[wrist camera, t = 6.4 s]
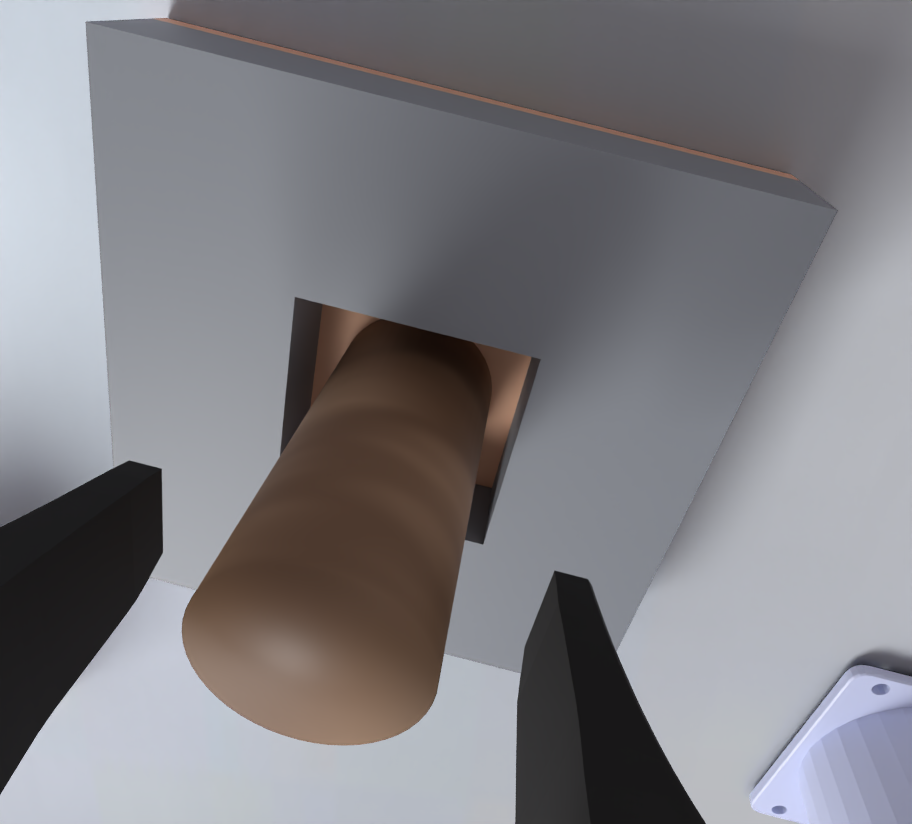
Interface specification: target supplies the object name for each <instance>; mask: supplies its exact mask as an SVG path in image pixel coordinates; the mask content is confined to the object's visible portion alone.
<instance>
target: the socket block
mask: <svg viewBox="0 0 912 824" xmlns="http://www.w3.org/2000/svg"><path fill="white" fill-rule="evenodd" d="M86 36H87V52H88V68H89V84H90V100H91V116H92V132H93V148H94V164H95V180H96V196H97V212H98V228H99V244H100V260H101V276H102V292H103V308H104V324H105V340H106V356H107V372H108V388H109V404H110V420H111V436H112V452H113V468H115V467H117V466H119V465H121V464H123V463H125V462H127V461H129V460H130V461H134V462H138V463H142V464H146V465H149V466H153V467H157V468H161V469H162V509H163V554H162V556H161V557H160V559H159V561H158V563H157V565H156V566H155V568H154V570H153V572H152V574H151V575H150V577H149V578H152V579H156V580H159V581H163V582H167V583H171V584H175V585H179V586H183V587H187V588H191V589H194V590H197V588H198V587H199V585H200V584H201V582H202V580H203V579H204V577H205V576H206V574H207V572H208V571H209V569H210V568H211V566H212V564H213V563H214V561H215V560H216V558H217V556H218V555H219V553H220V552H221V550H222V548H223V547H224V545H225V544H226V542H227V540H228V539H229V537H230V536H231V534H232V532H233V531H234V529H235V528H236V526H237V524H238V523H239V521H240V520H241V518H242V516H243V515H244V513H245V512H246V510H247V508H248V507H249V505H250V504H251V502H252V500H253V499H254V497H255V496H256V494H257V492H258V491H259V489H260V488H261V486H262V484H263V483H264V481H265V480H266V478H267V476H268V475H269V473H270V472H271V470H272V468H273V467H274V465H275V464H276V462H277V460H278V459H279V457H280V456H281V454H282V452H283V451H284V449H285V448H286V446H287V444H288V443H289V441H290V440H291V438H292V436H293V435H294V433H295V432H296V430H297V428H298V427H299V425H300V424H301V422H302V420H303V419H304V417H305V416H306V414H307V412H308V411H309V409H310V408H311V406H312V404H313V403H314V401H315V400H316V398H317V396H318V395H319V393H320V392H321V390H322V388H323V387H324V385H325V384H326V382H327V380H328V379H329V377H330V376H331V374H332V372H333V371H334V369H335V368H336V366H337V364H338V363H339V361H340V360H341V358H342V356H343V355H344V353H345V352H346V350H347V348H348V347H349V345H350V344H351V342H352V341H353V340H354V338H355V337H356V336H357V335H358V334H359V333H360V332H361V331H362V330H363V329H364V328H366V327H367V326H369V325H370V324H372V323H374V322H376V321H378V320H380V319H384V320H388V321H392V322H396V323H400V324H404V325H408V326H412V327H416V328H420V329H424V330H428V331H432V332H435V333H439V334H443V335H447V336H451V337H455V338H459V339H463V340H467V341H471V342H474V343H475V345H476V346H477V347H478V349H479V350H480V351H481V353H482V355H483V357H484V358H485V360H486V363H487V365H488V367H489V371H490V375H491V382H492V395H491V401H490V406H489V412H488V417H487V423H486V428H485V433H484V439H483V444H482V450H481V455H480V461H479V466H478V471H477V477H476V482H475V488H474V493H473V499H472V504H471V510H470V515H469V520H468V526H467V531H466V537H465V542H464V548H463V553H462V558H461V564H460V569H459V575H458V580H457V586H456V591H455V596H454V602H453V607H452V613H451V618H450V624H449V629H448V634H447V640H446V645H445V651H444V654H447V655H451V656H455V657H459V658H463V659H467V660H471V661H475V662H479V663H482V664H486V665H490V666H494V667H498V668H502V669H506V670H510V671H514V672H518V673H521V669H522V662H523V654H524V647H525V644H526V642H527V639H528V637H529V634H530V632H531V629H532V626H533V624H534V621H535V619H536V616H537V614H538V611H539V609H540V606H541V604H542V601H543V598H544V596H545V593H546V591H547V588H548V586H549V583H550V581H551V578H552V576H553V573H554V571H559V572H563V573H567V574H570V575H574V576H578V577H582V578H586V579H588V580H589V581H590V583H591V585H592V587H593V590H594V593H595V596H596V599H597V602H598V605H599V608H600V611H601V613H602V616H603V619H604V622H605V624H606V627H607V630H608V632H609V635H610V637H611V640H612V642H613V645H614V648H615V650H616V651H617V649H618V647H619V645H620V643H621V641H622V639H623V637H624V635H625V633H626V631H627V629H628V627H629V625H630V623H631V621H632V619H633V617H634V615H635V613H636V611H637V609H638V607H639V605H640V603H641V601H642V599H643V597H644V595H645V593H646V591H647V589H648V587H649V585H650V583H651V581H652V579H653V577H654V575H655V573H656V571H657V569H658V567H659V565H660V563H661V561H662V560H663V558H664V556H665V554H666V552H667V550H668V548H669V546H670V544H671V542H672V540H673V538H674V536H675V534H676V532H677V530H678V528H679V526H680V524H681V522H682V520H683V518H684V516H685V514H686V512H687V510H688V508H689V506H690V504H691V502H692V500H693V498H694V496H695V494H696V492H697V490H698V488H699V486H700V484H701V482H702V480H703V478H704V476H705V474H706V472H707V470H708V468H709V466H710V464H711V462H712V460H713V458H714V456H715V454H716V452H717V450H718V448H719V446H720V444H721V442H722V440H723V438H724V436H725V434H726V432H727V430H728V428H729V426H730V424H731V422H732V420H733V418H734V416H735V414H736V412H737V410H738V408H739V406H740V404H741V402H742V400H743V398H744V396H745V394H746V392H747V390H748V388H749V386H750V384H751V382H752V380H753V378H754V376H755V374H756V372H757V370H758V368H759V366H760V364H761V362H762V360H763V358H764V356H765V354H766V352H767V350H768V348H769V346H770V344H771V342H772V340H773V338H774V336H775V334H776V332H777V330H778V328H779V326H780V324H781V323H782V321H783V319H784V317H785V315H786V313H787V311H788V309H789V307H790V305H791V303H792V301H793V299H794V297H795V295H796V293H797V291H798V289H799V287H800V285H801V283H802V281H803V279H804V277H805V275H806V273H807V271H808V269H809V267H810V265H811V263H812V261H813V259H814V257H815V255H816V253H817V251H818V249H819V247H820V245H821V243H822V241H823V239H824V237H825V235H826V233H827V231H828V229H829V227H830V225H831V223H832V221H833V219H834V217H835V215H836V213H837V211H838V210H837V209H835V208H834V207H833V206H831V205H830V204H829V203H828V202H826V201H825V200H824V199H822V198H821V197H820V196H819V195H817V194H816V193H815V192H813V191H812V190H811V189H810V188H808V187H807V186H806V185H804V184H803V183H802V182H800V181H799V180H798V179H797V178H795V177H794V176H793V175H791V174H787V173H783V172H779V171H775V170H771V169H767V168H763V167H759V166H755V165H751V164H747V163H743V162H739V161H735V160H731V159H727V158H723V157H719V156H715V155H711V154H707V153H703V152H699V151H695V150H691V149H687V148H683V147H679V146H675V145H671V144H667V143H663V142H659V141H655V140H651V139H647V138H643V137H639V136H635V135H631V134H627V133H623V132H619V131H615V130H611V129H607V128H603V127H599V126H595V125H591V124H587V123H583V122H579V121H575V120H571V119H567V118H563V117H559V116H555V115H551V114H547V113H543V112H540V111H536V110H532V109H528V108H524V107H520V106H516V105H512V104H508V103H504V102H500V101H496V100H492V99H488V98H484V97H480V96H476V95H472V94H468V93H464V92H460V91H456V90H452V89H448V88H444V87H440V86H436V85H432V84H428V83H424V82H420V81H416V80H412V79H408V78H404V77H400V76H396V75H392V74H388V73H384V72H380V71H376V70H372V69H368V68H364V67H360V66H356V65H352V64H348V63H344V62H340V61H336V60H332V59H328V58H324V57H320V56H316V55H312V54H308V53H304V52H300V51H296V50H292V49H288V48H284V47H280V46H276V45H272V44H268V43H264V42H260V41H256V40H252V39H248V38H244V37H240V36H236V35H232V34H228V33H224V32H220V31H216V30H212V29H208V28H204V27H200V26H196V25H192V24H188V23H184V22H180V21H176V20H172V19H168V18H156V19H134V20H113V21H91V22H86Z"/></svg>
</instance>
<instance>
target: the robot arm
mask: <svg viewBox="0 0 912 824" xmlns="http://www.w3.org/2000/svg"><path fill="white" fill-rule="evenodd" d="M162 554H163V509H162V469H161V468H157V467H153V466H149V465H146V464H142V463H138V462H134V461H130V460H129V461H127V462H125V463H123V464H121V465H119V466H117V467H115V468H113V469H111V470H109V471H107V472H105V473H104V474H102V475H100V476H98V477H96V478H94V479H92V480H91V481H89V482H87V483H85V484H83V485H81V486H79V487H78V488H76V489H74V490H72V491H70V492H68V493H66V494H65V495H63V496H61V497H59V498H57V499H55V500H53V501H51V502H49V503H47V504H45V505H43V506H42V507H40V508H38V509H36V510H34V511H32V512H30V513H28V514H26V515H24V516H22V517H20V518H18V519H16V520H14V521H12V522H10V523H8V524H6V525H4V526H2V527H0V794H1V792H2V791H3V789H4V787H5V786H6V784H7V783H8V781H9V779H10V778H11V776H12V774H13V773H14V771H15V770H16V768H17V766H18V765H19V763H20V761H21V760H22V758H23V757H24V755H25V753H26V752H27V750H28V748H29V747H30V745H31V744H32V742H33V740H34V739H35V737H36V735H37V734H38V732H39V731H40V730H41V728H42V727H43V725H44V724H45V722H46V721H47V719H48V718H49V717H50V715H51V714H52V712H53V711H54V709H55V708H56V707H57V705H58V704H59V703H60V701H61V700H62V699H63V697H64V696H65V695H66V693H67V692H68V691H69V689H70V688H71V687H72V686H73V684H74V683H75V682H76V680H77V679H78V678H79V676H80V675H81V674H82V672H83V671H84V670H85V668H86V667H87V666H88V664H89V663H90V662H91V660H92V659H93V658H94V656H95V655H96V654H97V652H98V651H99V650H100V648H101V647H102V646H103V645H104V643H105V642H106V641H107V639H108V638H109V637H110V635H111V634H112V632H113V631H114V630H115V628H116V627H117V626H118V624H119V623H120V622H121V620H122V619H123V618H124V616H125V615H126V614H127V612H128V611H129V610H130V608H131V607H132V605H133V604H134V603H135V601H136V600H137V598H138V596H139V594H140V593H141V591H142V589H143V588H144V586H145V584H146V583H147V581H148V579H149V577H150V575H151V574H152V572H153V570H154V568H155V566H156V565H157V563H158V561H159V559H160V557H161V556H162ZM749 799H750V803H751V807H752V808H753V809H754V810H755V811H757V812H759V813H762V814H766V815H770V816H774V817H778V818H782V819H786V820H790V821H793V822H797V823H801V824H912V677H911V676H907V675H903V674H899V673H895V672H891V671H887V670H884V669H880V668H876V667H872V666H867V665H857V666H854V667H851V668H850V669H848V670H847V671H846V672H845V673H844V675H843V676H842V677H841V678H840V680H839V681H838V682H837V684H836V685H835V686H834V687H833V689H832V690H831V691H830V692H829V694H828V695H827V696H826V698H825V699H824V700H823V701H822V703H821V704H820V705H819V707H818V708H817V709H816V710H815V712H814V713H813V714H812V715H811V717H810V718H809V719H808V721H807V722H806V723H805V724H804V726H803V727H802V728H801V729H800V731H799V732H798V733H797V735H796V736H795V737H794V738H793V740H792V741H791V742H790V744H789V745H788V746H787V747H786V749H785V750H784V751H783V752H782V754H781V755H780V756H779V758H778V759H777V760H776V761H775V763H774V764H773V765H772V766H771V768H770V769H769V770H768V772H767V773H766V774H765V775H764V777H763V778H762V779H761V780H760V782H759V783H758V784H757V786H756V787H755V788H754V789H753V791H752V792H751V793H750V795H749ZM515 824H706V823H705V821H704V820H703V818H702V817H701V815H700V814H699V812H698V810H697V809H696V807H695V806H694V804H693V802H692V801H691V799H690V798H689V796H688V794H687V793H686V791H685V789H684V787H683V786H682V784H681V782H680V781H679V779H678V777H677V776H676V774H675V772H674V770H673V769H672V767H671V765H670V763H669V761H668V760H667V758H666V756H665V754H664V752H663V750H662V748H661V747H660V745H659V743H658V741H657V739H656V737H655V735H654V733H653V731H652V729H651V727H650V725H649V723H648V721H647V719H646V717H645V715H644V713H643V711H642V709H641V707H640V705H639V703H638V700H637V698H636V696H635V694H634V692H633V689H632V687H631V685H630V683H629V680H628V678H627V676H626V674H625V671H624V669H623V667H622V664H621V662H620V660H619V657H618V655H617V652H616V650H615V648H614V645H613V642H612V640H611V637H610V635H609V632H608V630H607V627H606V624H605V622H604V619H603V616H602V613H601V611H600V608H599V605H598V602H597V599H596V596H595V593H594V590H593V587H592V585H591V583H590V581H589V580H588V579H586V578H582V577H578V576H574V575H570V574H567V573H563V572H559V571H554V573H553V576H552V578H551V581H550V583H549V586H548V588H547V591H546V593H545V596H544V598H543V601H542V604H541V606H540V609H539V611H538V614H537V616H536V619H535V621H534V624H533V626H532V629H531V632H530V634H529V637H528V639H527V642H526V644H525V647H524V654H523V662H522V669H521V677H520V685H519V693H518V701H517V750H516V822H515Z"/></svg>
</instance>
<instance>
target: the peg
mask: <svg viewBox="0 0 912 824" xmlns="http://www.w3.org/2000/svg"><path fill="white" fill-rule="evenodd" d="M491 395H492V382H491V375H490V371H489V367H488V365H487V363H486V360H485V358H484V357H483V355H482V353H481V351H480V350H479V349H478V347H477V346H476V345H475V343H474V342H471V341H467V340H463V339H459V338H455V337H451V336H447V335H443V334H439V333H435V332H432V331H428V330H424V329H420V328H416V327H412V326H408V325H404V324H400V323H396V322H392V321H388V320H384V319H380V320H378V321H376V322H374V323H372V324H370V325H369V326H367V327H366V328H364V329H363V330H362V331H361V332H360V333H359V334H358V335H357V336H356V337H355V338H354V340H353V341H352V342H351V344H350V345H349V347H348V348H347V350H346V352H345V353H344V355H343V356H342V358H341V360H340V361H339V363H338V364H337V366H336V368H335V369H334V371H333V372H332V374H331V376H330V377H329V379H328V380H327V382H326V384H325V385H324V387H323V388H322V390H321V392H320V393H319V395H318V396H317V398H316V400H315V401H314V403H313V404H312V406H311V408H310V409H309V411H308V412H307V414H306V416H305V417H304V419H303V420H302V422H301V424H300V425H299V427H298V428H297V430H296V432H295V433H294V435H293V436H292V438H291V440H290V441H289V443H288V444H287V446H286V448H285V449H284V451H283V452H282V454H281V456H280V457H279V459H278V460H277V462H276V464H275V465H274V467H273V468H272V470H271V472H270V473H269V475H268V476H267V478H266V480H265V481H264V483H263V484H262V486H261V488H260V489H259V491H258V492H257V494H256V496H255V497H254V499H253V500H252V502H251V504H250V505H249V507H248V508H247V510H246V512H245V513H244V515H243V516H242V518H241V520H240V521H239V523H238V524H237V526H236V528H235V529H234V531H233V532H232V534H231V536H230V537H229V539H228V540H227V542H226V544H225V545H224V547H223V548H222V550H221V552H220V553H219V555H218V556H217V558H216V560H215V561H214V563H213V564H212V566H211V568H210V569H209V571H208V572H207V574H206V576H205V577H204V579H203V580H202V582H201V584H200V585H199V587H198V588H197V590H196V592H195V593H194V595H193V596H192V598H191V600H190V602H189V604H188V605H187V607H186V610H185V613H184V617H183V622H182V638H183V644H184V648H185V651H186V655H187V657H188V659H189V661H190V663H191V666H192V667H193V669H194V670H195V672H196V674H197V675H198V677H199V678H200V679H201V680H202V682H203V683H204V684H205V685H206V687H207V688H208V689H209V690H210V691H211V692H212V693H213V694H214V695H215V696H216V697H217V698H218V699H220V700H221V701H222V702H223V703H224V704H226V705H227V706H228V707H229V708H231V709H232V710H234V711H235V712H237V713H238V714H240V715H241V716H243V717H245V718H246V719H248V720H250V721H252V722H253V723H255V724H257V725H260V726H262V727H264V728H266V729H268V730H271V731H273V732H276V733H279V734H281V735H284V736H288V737H291V738H295V739H298V740H303V741H307V742H312V743H319V744H327V745H360V744H367V743H373V742H377V741H381V740H385V739H388V738H391V737H393V736H396V735H398V734H400V733H402V732H404V731H406V730H408V729H409V728H411V727H412V726H413V725H415V724H416V723H417V722H419V721H420V720H421V718H422V717H423V716H424V715H425V714H426V713H427V712H428V710H429V709H430V707H431V705H432V704H433V701H434V699H435V696H436V694H437V689H438V683H439V678H440V672H441V667H442V662H443V656H444V651H445V645H446V640H447V634H448V629H449V624H450V618H451V613H452V607H453V602H454V596H455V591H456V586H457V580H458V575H459V569H460V564H461V558H462V553H463V548H464V542H465V537H466V531H467V526H468V520H469V515H470V510H471V504H472V499H473V493H474V488H475V482H476V477H477V471H478V466H479V461H480V455H481V450H482V444H483V439H484V433H485V428H486V423H487V417H488V412H489V406H490V401H491Z"/></svg>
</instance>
